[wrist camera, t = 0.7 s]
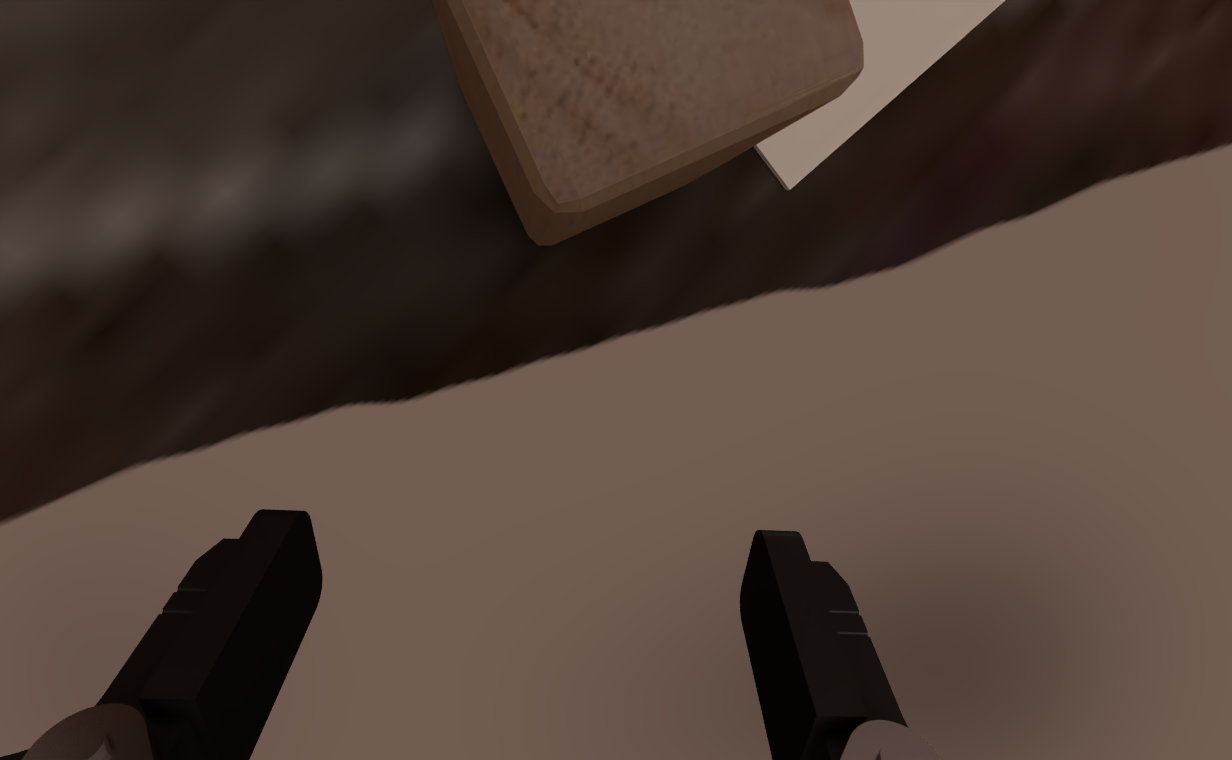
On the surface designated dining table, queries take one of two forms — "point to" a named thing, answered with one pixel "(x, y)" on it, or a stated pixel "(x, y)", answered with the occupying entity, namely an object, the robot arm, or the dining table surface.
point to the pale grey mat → (874, 76)
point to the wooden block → (636, 92)
